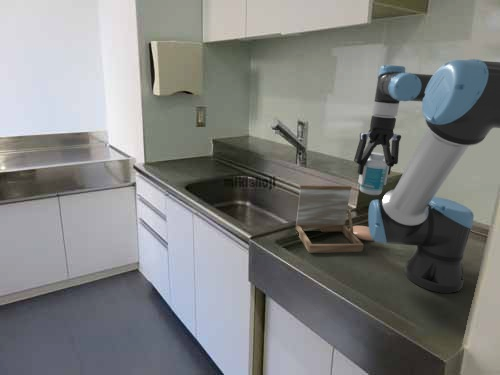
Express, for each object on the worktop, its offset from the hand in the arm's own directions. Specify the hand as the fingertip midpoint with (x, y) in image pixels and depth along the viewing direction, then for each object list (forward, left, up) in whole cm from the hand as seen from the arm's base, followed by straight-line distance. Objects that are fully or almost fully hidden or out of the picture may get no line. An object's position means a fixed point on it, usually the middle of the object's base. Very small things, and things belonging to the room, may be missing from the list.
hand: (371, 183), depth 125 cm
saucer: (0, -1, -19) cm, 19 cm away
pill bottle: (0, 0, -3) cm, 3 cm away
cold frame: (-5, +15, -19) cm, 25 cm away
